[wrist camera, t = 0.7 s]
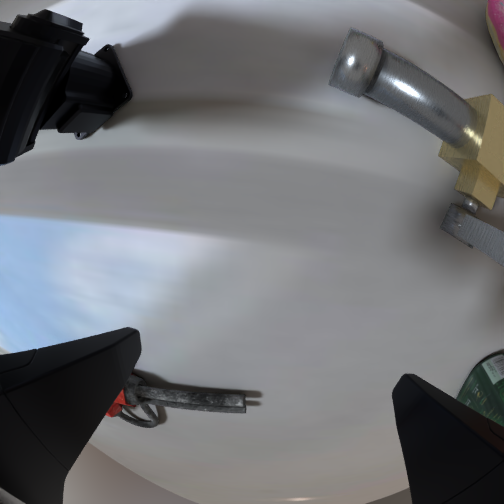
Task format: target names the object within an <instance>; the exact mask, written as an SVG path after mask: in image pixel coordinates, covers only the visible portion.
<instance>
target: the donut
mask: <svg viewBox="0 0 504 504" xmlns="http://www.w3.org/2000/svg"><path fill="white" fill-rule="evenodd" d="M485 13H486V22H487V26H488V30H489V33H490V35H491V38H492V41H493V44H494V46H495V48H496V51H497V53H498V55H499V58H500V60H501V62H502V64H503V66H504V0H488V3H487V7H486V12H485Z"/></svg>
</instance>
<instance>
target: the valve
mask: <svg viewBox="0 0 504 504" xmlns="http://www.w3.org/2000/svg"><path fill="white" fill-rule="evenodd" d="M122 404H123V405H128V406H133V407H136V405H139V404H140V406H141V408H142V409H143V410H144V412H145V413H146V414H147V415H148V417H149V418H150V419H151V421H149V422H145V421H140V420H137V419H134V418H132V417H129V416H128V415H126V414H124V413H123V412H122V410H123V409H122ZM148 404H153V405H159V406H165V407H172V408H180V409H188V410H198V411H209V412H224V413H246V405H245V395H236V394H212V393H198V392H186V391H177V390H168V389H160V388H153V387H147V385H146V382H145V381H144V380H143V379H141V378H139V377H137V376H136V375H134V374H132V373H131V375H130V377H129V379H128V381H127V383H126V384H125V386H124V388H123V389H122V391H121V392H120V394H119V395H118V397H117V398H116V400H115V401H114V403H113V404H112V406H111V407H110V409H109V410H108V412H107V413H106V415H107V416H109V417H116V416H118V417H120V418H121V419H123V420H125V421H127V422H129V423H131V424H134V425H137V426H140V427H145V428H153V427H155V426H157V425H158V423H159V421H158V418H157V416H156V415H155V413H154V412H153V411H152V409H151V408H150V407H149V405H148Z"/></svg>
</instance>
